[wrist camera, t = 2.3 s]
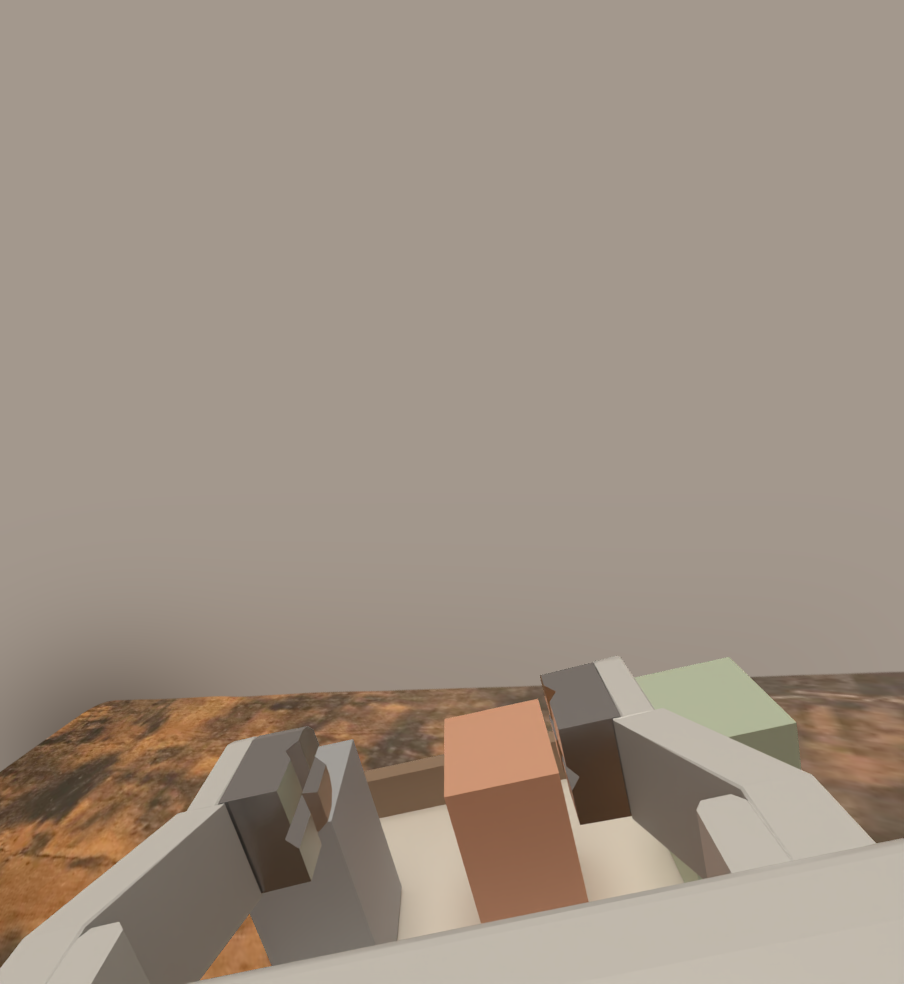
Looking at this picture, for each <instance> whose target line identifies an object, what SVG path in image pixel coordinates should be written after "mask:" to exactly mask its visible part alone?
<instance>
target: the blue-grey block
mask: <svg viewBox="0 0 904 984" xmlns="http://www.w3.org/2000/svg"><path fill="white" fill-rule="evenodd" d="M315 757H316V758H318V759H319V760H321V761H322V762H323V763H325V764H326V766H327V769H328V772H329V775H330V780H331V786H332V807H331V811H330V815H329V819H328V822H327V823H326V824H325V825H324V826H323V828H322V829H321V830H320V831H319V832H318V835H319V838H320V841H321V844H322V845H321V849H320V852H319V856H318V859H317V863H316V867H315V870H314V874H313V877H312V881H311V882H307V883H302V884H298V885H294V886H290V887H286V888H282V889H278V890H274V891H270V892H265V893H262V898H261V899H260V900H259V902H258V903H257V904H256V906H255V907H254V908H253V910H252V911H251V912H250V915H251V917H252V920H253V922H254V925H255V927H256V929H257V932H258V934H259V936H260V939H261V941H262V944H263V946H264V948H265V951H266V953H267V955H268V958H269V960H270V963H271V965H272V966H275V965H280V964H285V963H290V962H294V961H299V960H304V959H309V958H314V957H319V956H324V955H329V954H334V953H339V952H344V951H348V950H353V949H358V948H363V947H368V946H373V945H378V944H383V943H388V942H393V941H397V932H398V921H399V910H400V899H401V888H402V886H401V883H400V880H399V877H398V874H397V871H396V868H395V865H394V862H393V859H392V856H391V853H390V850H389V847H388V843H387V840H386V837H385V834H384V831H383V828H382V825H381V822H380V819H379V816H378V813H377V810H376V807H375V804H374V801H373V798H372V795H371V792H370V789H369V786H368V783H367V780H366V777H365V774H364V771H363V768H362V765H361V762H360V759H359V756H358V753H357V750H356V747H355V744H354V741H353V739H352V740H348V741H343V742H339V743H334V744H329V745H325V746H320V747H318V749H317V752H316V755H315Z"/></svg>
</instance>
